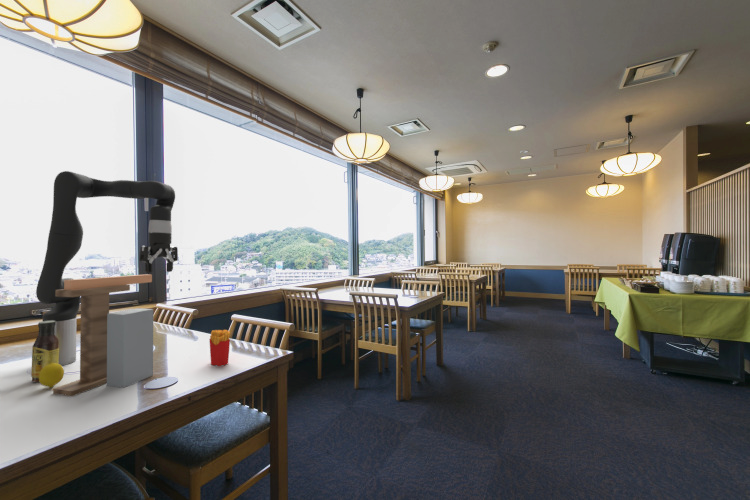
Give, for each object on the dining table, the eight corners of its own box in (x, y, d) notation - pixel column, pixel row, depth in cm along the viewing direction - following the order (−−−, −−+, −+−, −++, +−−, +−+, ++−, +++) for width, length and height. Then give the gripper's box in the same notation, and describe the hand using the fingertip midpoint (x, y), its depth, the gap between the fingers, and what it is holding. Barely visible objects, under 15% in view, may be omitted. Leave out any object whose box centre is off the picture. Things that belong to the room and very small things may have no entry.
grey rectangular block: (106, 385, 97) (107, 313, 98) (137, 373, 107) (137, 308, 107) (123, 387, 96) (123, 314, 96) (152, 375, 106) (153, 309, 106)
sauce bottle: (27, 381, 101) (28, 322, 101) (52, 374, 106) (53, 318, 107) (37, 384, 98) (37, 324, 98) (62, 377, 104) (63, 320, 104)
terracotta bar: (64, 289, 93) (64, 280, 93) (145, 281, 118) (145, 274, 118) (71, 290, 92) (71, 280, 92) (151, 282, 117) (151, 274, 117)
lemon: (47, 392, 93) (47, 366, 93) (33, 390, 94) (34, 365, 94) (68, 384, 98) (68, 360, 98) (55, 383, 99) (55, 358, 100)
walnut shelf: (53, 393, 92) (54, 289, 92) (112, 372, 108) (113, 284, 109) (72, 396, 90) (73, 290, 90) (130, 374, 107) (130, 284, 107)
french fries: (206, 363, 116) (206, 330, 117) (216, 360, 120) (216, 328, 121) (224, 367, 113) (224, 333, 113) (233, 363, 117) (233, 330, 117)
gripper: (169, 233, 128) (168, 271, 128) (135, 230, 114) (134, 273, 114) (183, 233, 126) (182, 271, 126) (150, 230, 113) (149, 273, 112)
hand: (159, 272), depth 120 cm, fingers open, 8 cm apart
